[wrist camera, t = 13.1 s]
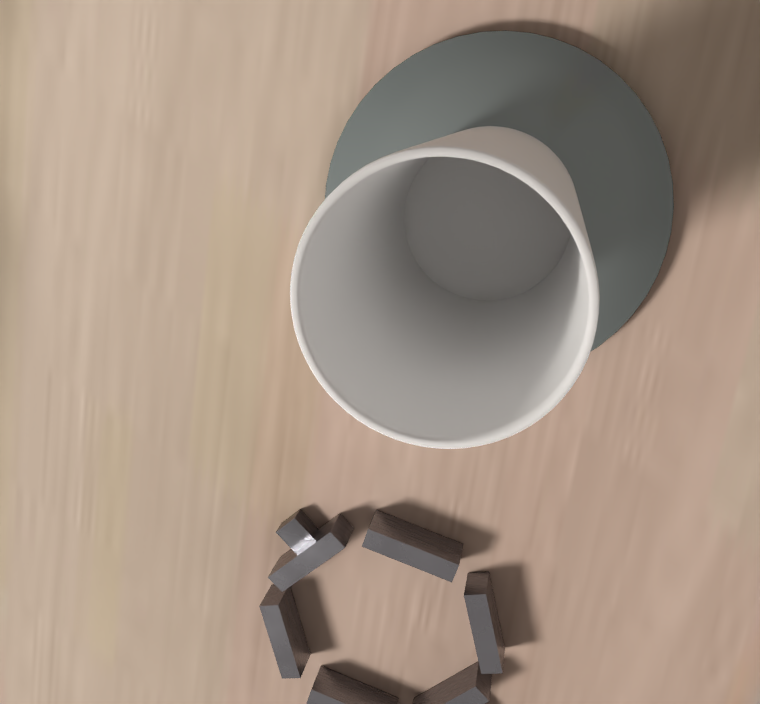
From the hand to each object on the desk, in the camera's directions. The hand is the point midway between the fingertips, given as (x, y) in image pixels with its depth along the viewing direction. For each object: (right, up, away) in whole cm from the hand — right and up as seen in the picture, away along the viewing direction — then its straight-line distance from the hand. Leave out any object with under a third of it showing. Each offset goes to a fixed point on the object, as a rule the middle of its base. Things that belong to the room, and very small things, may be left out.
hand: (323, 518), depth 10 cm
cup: (+6, +9, +24) cm, 26 cm away
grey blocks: (+1, -13, +33) cm, 36 cm away
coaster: (+6, +9, +24) cm, 27 cm away
